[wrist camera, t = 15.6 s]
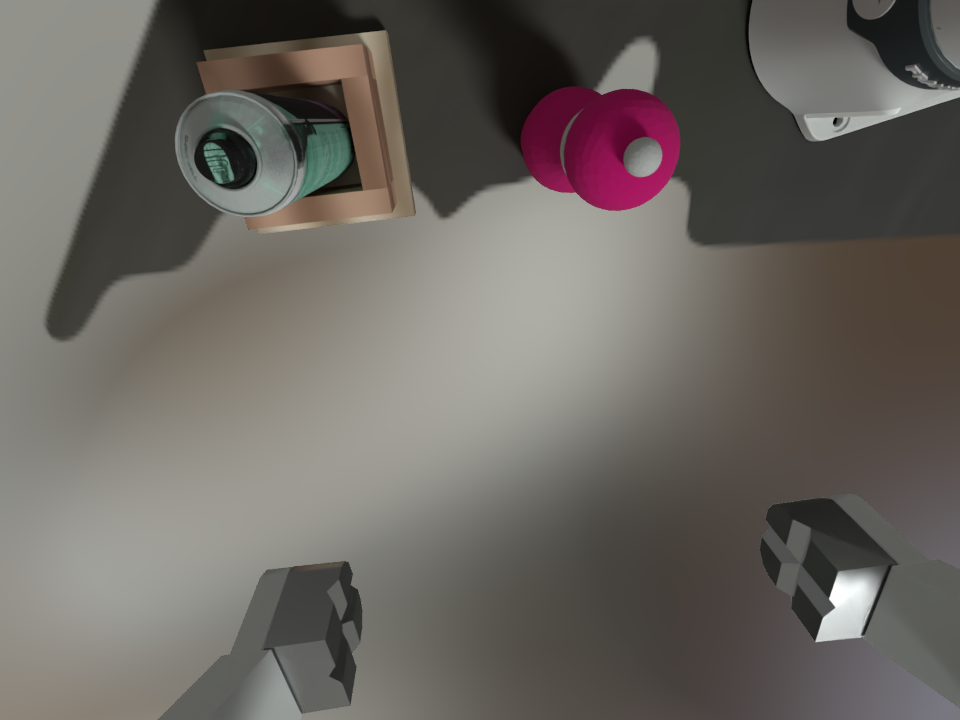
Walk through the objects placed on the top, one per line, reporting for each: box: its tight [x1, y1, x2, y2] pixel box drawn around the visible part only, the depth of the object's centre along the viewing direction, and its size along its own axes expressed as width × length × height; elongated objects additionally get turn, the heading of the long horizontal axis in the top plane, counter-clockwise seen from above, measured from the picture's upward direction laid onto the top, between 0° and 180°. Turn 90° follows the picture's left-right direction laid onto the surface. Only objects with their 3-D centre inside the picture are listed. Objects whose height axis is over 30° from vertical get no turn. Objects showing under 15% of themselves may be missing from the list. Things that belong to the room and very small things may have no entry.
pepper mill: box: [521, 86, 680, 211], centre depth 32 cm, size 7×7×20 cm
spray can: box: [175, 90, 356, 217], centre depth 29 cm, size 6×6×20 cm
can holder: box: [196, 30, 416, 234], centre depth 36 cm, size 13×13×6 cm
